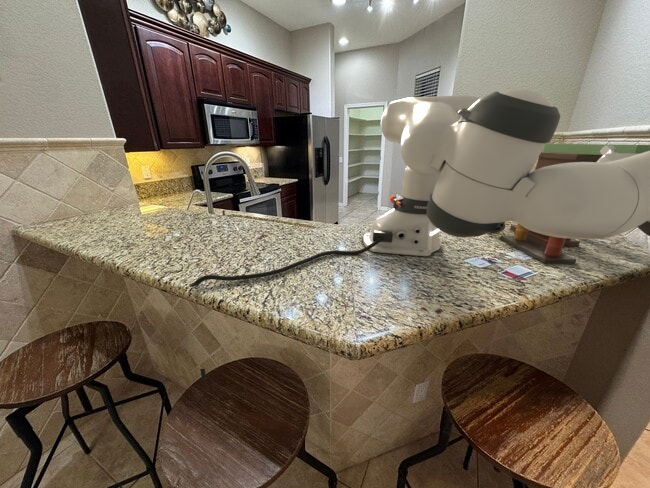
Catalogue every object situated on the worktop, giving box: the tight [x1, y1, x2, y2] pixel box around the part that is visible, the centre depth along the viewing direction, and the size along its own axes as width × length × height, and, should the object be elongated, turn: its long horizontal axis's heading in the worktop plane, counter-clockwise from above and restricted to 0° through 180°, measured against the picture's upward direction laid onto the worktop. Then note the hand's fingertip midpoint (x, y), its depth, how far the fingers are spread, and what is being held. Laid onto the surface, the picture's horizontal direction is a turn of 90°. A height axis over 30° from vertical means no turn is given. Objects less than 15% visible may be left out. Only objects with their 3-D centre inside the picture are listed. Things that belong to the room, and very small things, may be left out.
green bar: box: [542, 143, 650, 155], centre depth 71 cm, size 3×26×2 cm, turn 0°
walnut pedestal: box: [509, 151, 603, 247], centre depth 80 cm, size 10×16×26 cm, turn 0°
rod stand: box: [499, 223, 577, 265], centre depth 72 cm, size 8×18×16 cm, turn 0°
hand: (624, 148), depth 62 cm, fingers open, 8 cm apart
